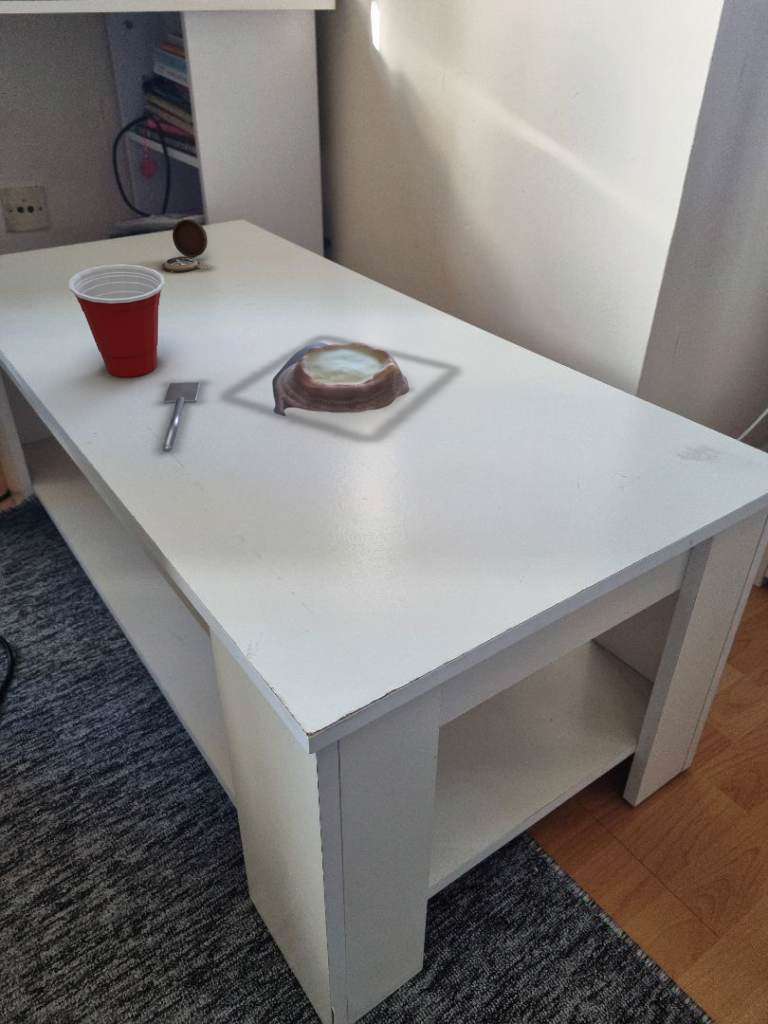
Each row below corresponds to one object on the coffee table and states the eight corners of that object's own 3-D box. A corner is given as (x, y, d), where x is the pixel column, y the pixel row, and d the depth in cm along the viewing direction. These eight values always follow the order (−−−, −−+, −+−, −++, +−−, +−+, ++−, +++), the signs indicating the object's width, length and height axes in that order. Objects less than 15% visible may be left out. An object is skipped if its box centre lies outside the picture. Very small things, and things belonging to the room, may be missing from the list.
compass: (155, 273, 132) (148, 228, 127) (179, 259, 138) (173, 215, 134) (199, 278, 130) (193, 232, 125) (221, 264, 136) (216, 219, 132)
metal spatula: (149, 456, 84) (148, 448, 84) (171, 388, 97) (169, 381, 96) (184, 455, 84) (183, 447, 84) (201, 387, 97) (200, 380, 97)
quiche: (321, 340, 109) (320, 312, 107) (456, 373, 101) (458, 343, 99) (223, 401, 94) (219, 370, 92) (371, 446, 86) (370, 412, 84)
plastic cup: (124, 399, 95) (105, 301, 88) (71, 374, 100) (49, 280, 93) (196, 369, 102) (183, 275, 95) (142, 347, 107) (126, 257, 100)
